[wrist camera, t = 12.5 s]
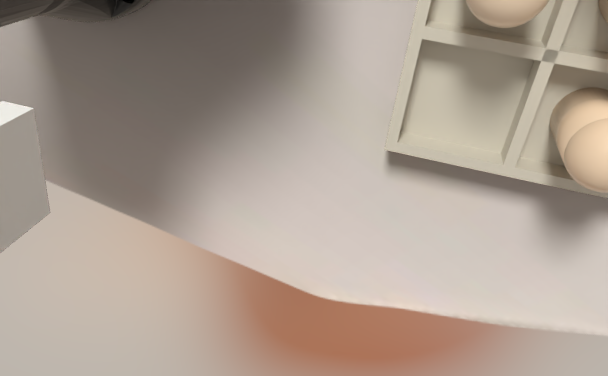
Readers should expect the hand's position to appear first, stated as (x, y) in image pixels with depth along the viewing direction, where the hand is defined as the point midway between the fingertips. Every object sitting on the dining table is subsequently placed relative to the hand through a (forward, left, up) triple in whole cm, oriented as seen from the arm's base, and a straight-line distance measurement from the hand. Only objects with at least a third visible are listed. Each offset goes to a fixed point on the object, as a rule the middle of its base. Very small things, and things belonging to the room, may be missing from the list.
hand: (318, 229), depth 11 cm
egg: (+14, -6, -28) cm, 32 cm away
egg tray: (+9, -2, -29) cm, 30 cm away
